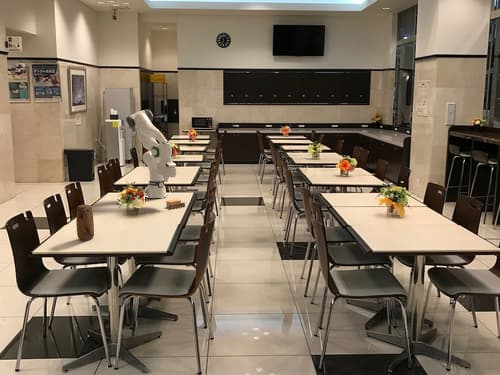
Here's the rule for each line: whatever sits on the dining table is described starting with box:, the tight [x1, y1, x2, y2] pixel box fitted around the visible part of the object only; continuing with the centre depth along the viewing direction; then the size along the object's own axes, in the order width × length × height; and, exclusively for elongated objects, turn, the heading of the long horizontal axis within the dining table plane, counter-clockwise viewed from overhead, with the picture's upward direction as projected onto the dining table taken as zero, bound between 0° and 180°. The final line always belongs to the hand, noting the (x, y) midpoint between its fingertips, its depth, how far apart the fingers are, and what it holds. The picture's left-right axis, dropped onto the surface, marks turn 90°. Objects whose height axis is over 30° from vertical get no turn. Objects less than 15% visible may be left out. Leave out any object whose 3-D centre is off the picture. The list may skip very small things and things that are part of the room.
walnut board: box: [168, 202, 186, 210], centre depth 385 cm, size 2×13×3 cm, turn 135°
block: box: [75, 204, 95, 242], centre depth 300 cm, size 11×8×20 cm
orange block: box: [165, 198, 182, 209], centre depth 388 cm, size 6×9×5 cm, turn 140°
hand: (165, 181), depth 392 cm, fingers closed
